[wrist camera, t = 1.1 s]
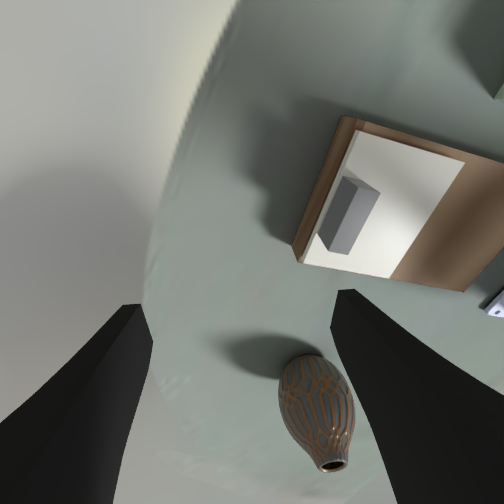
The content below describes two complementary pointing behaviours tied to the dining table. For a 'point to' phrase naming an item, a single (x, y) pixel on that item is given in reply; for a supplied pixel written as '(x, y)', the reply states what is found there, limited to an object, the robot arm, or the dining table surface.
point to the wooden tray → (440, 221)
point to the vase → (318, 410)
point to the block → (500, 94)
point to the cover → (378, 205)
